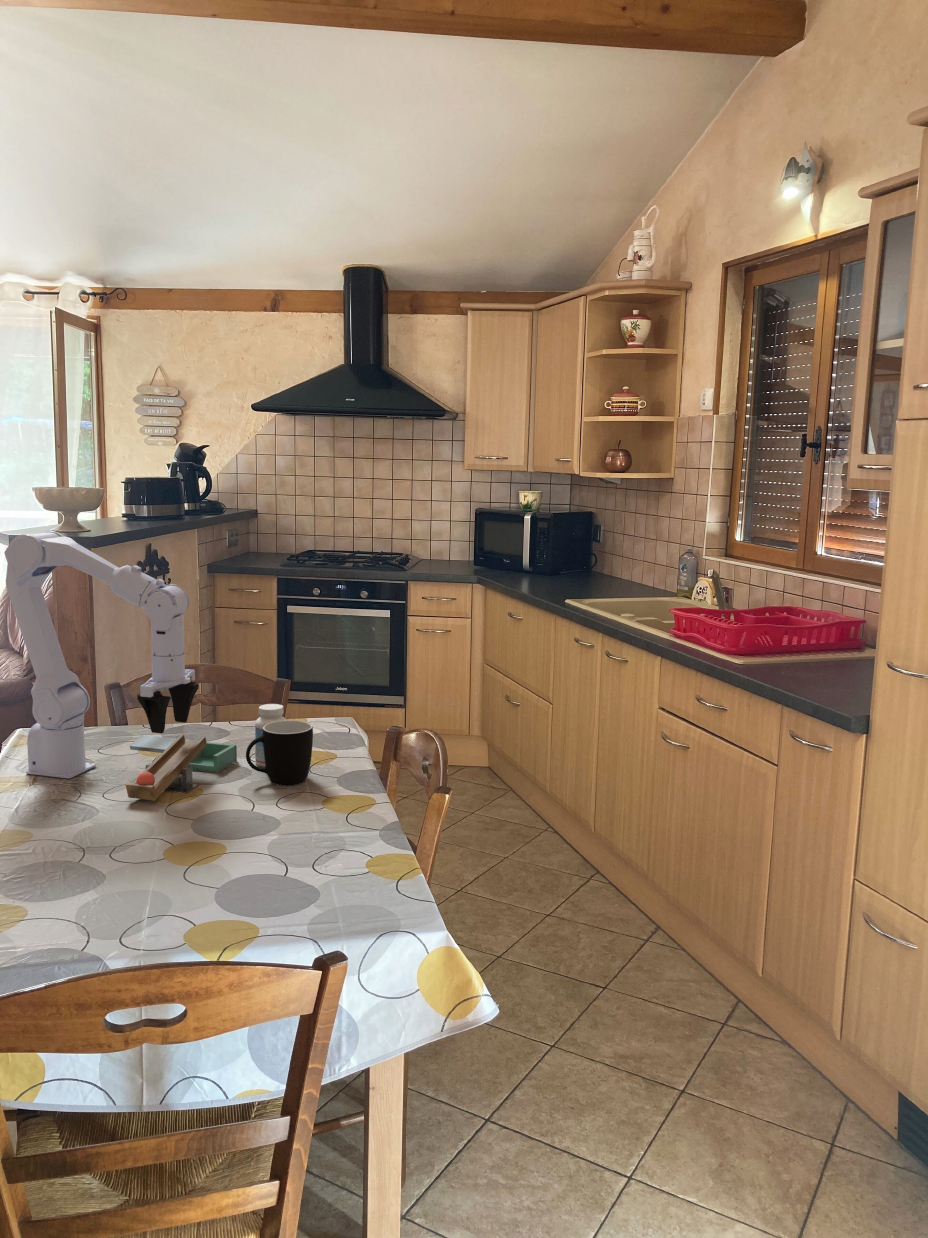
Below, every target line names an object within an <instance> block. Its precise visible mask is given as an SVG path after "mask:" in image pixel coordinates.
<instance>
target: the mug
mask: <svg viewBox="0 0 928 1238" xmlns="http://www.w3.org/2000/svg"><path fill="white" fill-rule="evenodd" d="M313 741H314V727H313V725H312V724H311V723H309V722H307V721H303V720H294V719H293V720H291V719H290V720H287V719H286V721H276V722H272V723H268V724H266V725H265V726H264V727H263V734H262V736H260V737H258V738H256V739H255V738H254V739H253V740H252V741H250V743H248V746H247V748H246V751H245V759H246V762H247V764H248V766H249V767H250V768H251V769H252V770H254V771H256V772H259V773H264V774H266V775H267V777H268V779H269V781H270V782H271V783H272V784H273V785H276V786H282V787H283V786H284V787H291V786H297V785H300V784H303V783H305V782H306V781H307V779H308V777H309V772H310V769H311V762H312V756H313V754H312V753H313V743H314V742H313ZM258 742H262V743H263V748H264V757H265V767H263V766H262V767H261V766H258V765H255V764H254V763H253V762H252V761H251V755H250V754H251V750H252V749H253V747H255V744H256V743H258Z"/></svg>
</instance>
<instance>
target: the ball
mask: <svg viewBox="0 0 928 1238" xmlns="http://www.w3.org/2000/svg"><path fill="white" fill-rule="evenodd" d="M136 778H137V780H136V783H137V784H144V785H154V783H155V777H154V775H153V774H152V773H150V772H144V771H142V772H141V773H139V774H138V775H137V777H136Z"/></svg>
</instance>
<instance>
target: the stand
mask: <svg viewBox="0 0 928 1238" xmlns="http://www.w3.org/2000/svg"><path fill="white" fill-rule="evenodd" d="M153 762H154V761H151V762H149V763H147V764H145V770H146V769H147V768H148V767H149V766H150V765H151V764H152V763H153ZM198 787H199V784H195V783H194V782H193V770H192V766H187V767H185V768H183V769H182V775H178V776H177V777H176V778H175V780H174V781H173V782H172V783H171V784H170V785H169V786H168V787H167V788H166V789H165V790H164V791H163V792H171V793H178V794H179V793H180V794H188V793H189V792H191V791H193V790H194V789H196V788H198Z"/></svg>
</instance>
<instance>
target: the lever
mask: <svg viewBox="0 0 928 1238" xmlns="http://www.w3.org/2000/svg"><path fill="white" fill-rule="evenodd" d="M207 742H208V741H207V738H206V736H201V737H200V738H199V739H197V740H196V739H186V738H185V734H183V733H182V734H180V735H179V736H178V737H176V738H175V737H168V736H167V737H166V736H158V735H157V736H156V735H147V734H146V735H145V734H141V735H140V736H139V737H138V738H136V740H134V741H133V742H132V743H131V744H130V745H129V749H130V750H132V751H140V752H149V753H158V754H159V753H160V754H159V756H157V758H156V759H154V761H152V762H153V763H152V764H151V765H150V766H149V767H148V768H147V769H146V768H145V769H144V770H143V772H150V773H152V774H153V775H154V777H155V783H154V785H144V784H137V783H136V780H137V777H136V778H135V779H134V780H133V781H132V782H126V783H125V789H126V793H127V797H128V799H139V800H146V801H147V800H148V801H156V799H158V798H159V796H161V795H162V793H164V792H165V791H164V790H165V789H166V788H167V787H168V786H169V785H170V784H171V783H172V782H173V781H174V780H175V778H176V777H177V776H178V775H182V769H183V768H185V767H187V766H188V765H189V764H190V763H191V762H192V760H193V759H194V758H195V757H196V756H197V755H198V754H199V753H200V752H201V751H202V750H203V749H204V748H205V747H206V746H207Z"/></svg>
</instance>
